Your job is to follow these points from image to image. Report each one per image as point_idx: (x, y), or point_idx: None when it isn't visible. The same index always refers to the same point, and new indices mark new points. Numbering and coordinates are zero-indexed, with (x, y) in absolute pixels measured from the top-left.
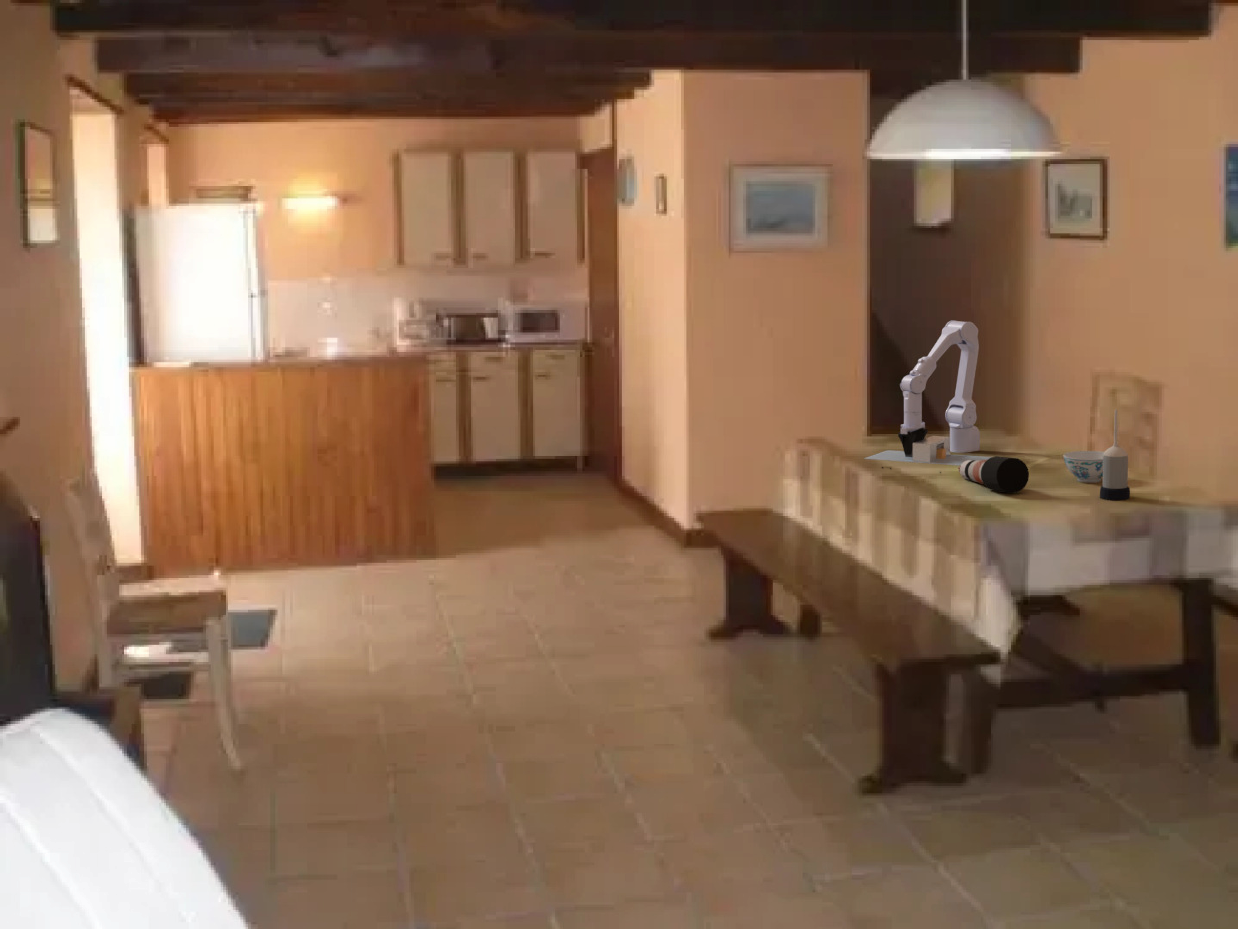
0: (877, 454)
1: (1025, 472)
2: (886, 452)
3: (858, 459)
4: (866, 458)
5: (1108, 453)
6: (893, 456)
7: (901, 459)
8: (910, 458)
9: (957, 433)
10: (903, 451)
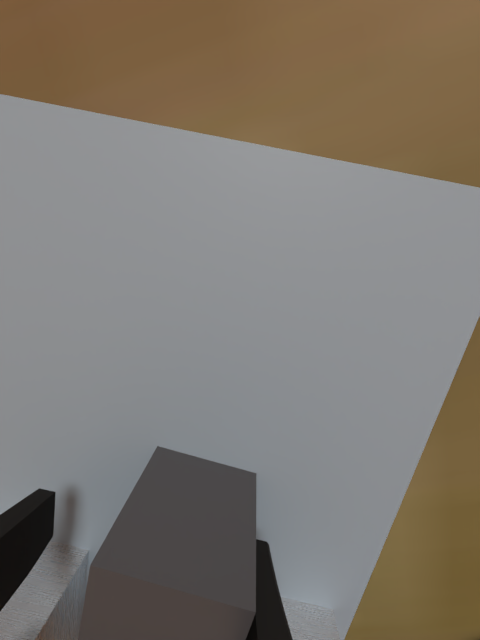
0: (216, 162)
1: None
2: (359, 228)
3: (30, 6)
4: None
5: None
6: (138, 352)
7: (23, 441)
8: (87, 494)
9: None
10: (433, 384)
